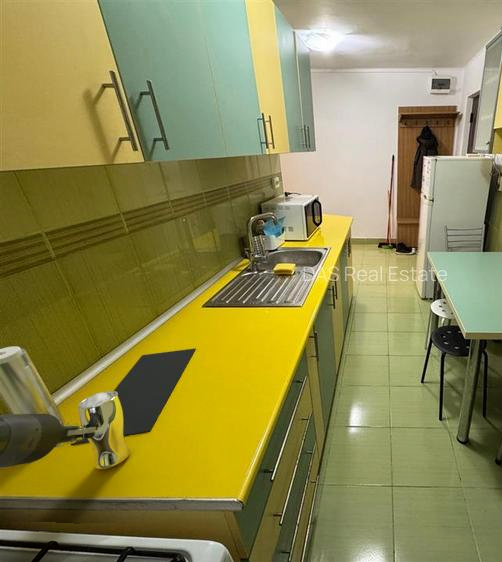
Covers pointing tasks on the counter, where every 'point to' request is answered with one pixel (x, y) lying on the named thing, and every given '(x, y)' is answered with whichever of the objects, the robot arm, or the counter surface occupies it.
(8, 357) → the silver metal cylinder
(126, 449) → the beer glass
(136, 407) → the mat
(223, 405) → the counter surface
